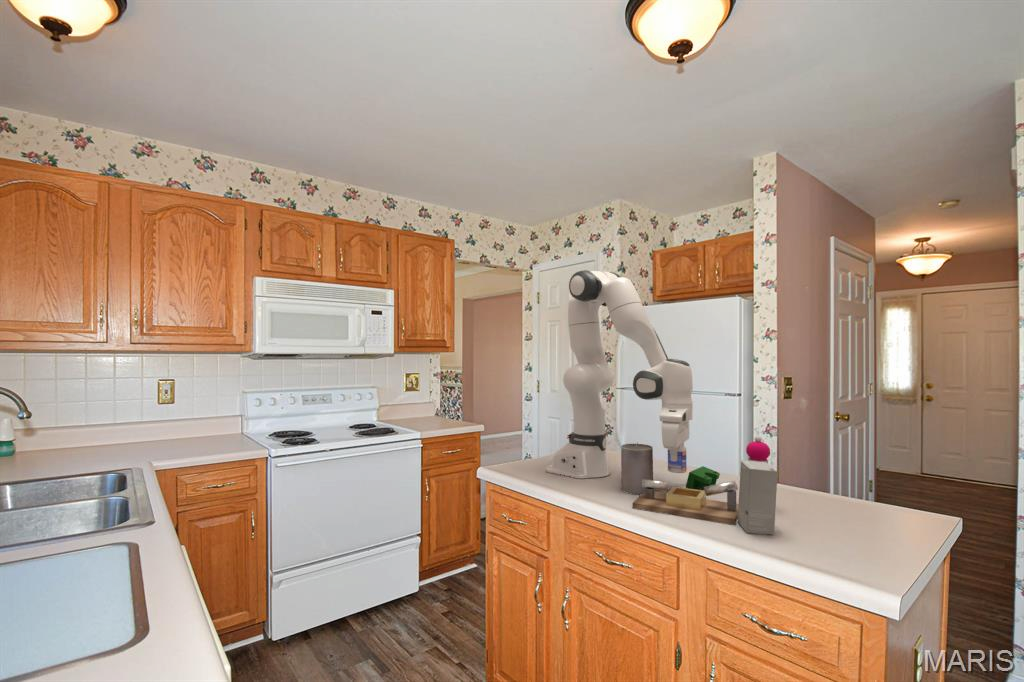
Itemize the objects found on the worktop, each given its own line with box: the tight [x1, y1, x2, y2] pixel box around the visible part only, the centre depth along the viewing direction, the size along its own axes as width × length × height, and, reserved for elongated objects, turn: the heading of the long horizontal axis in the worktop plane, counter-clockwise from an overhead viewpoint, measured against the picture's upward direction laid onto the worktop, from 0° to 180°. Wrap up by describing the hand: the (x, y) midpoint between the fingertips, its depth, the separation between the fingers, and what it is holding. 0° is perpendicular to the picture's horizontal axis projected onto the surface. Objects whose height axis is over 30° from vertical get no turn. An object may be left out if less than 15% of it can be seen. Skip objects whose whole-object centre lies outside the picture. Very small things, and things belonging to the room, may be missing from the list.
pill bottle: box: [667, 439, 688, 474], centre depth 150 cm, size 5×5×10 cm
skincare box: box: [737, 459, 779, 536], centre depth 122 cm, size 8×7×16 cm
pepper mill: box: [745, 435, 771, 464], centre depth 138 cm, size 7×7×20 cm
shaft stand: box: [631, 479, 739, 526], centre depth 137 cm, size 26×14×9 cm, turn 60°
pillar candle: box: [620, 442, 654, 495], centre depth 155 cm, size 10×10×15 cm
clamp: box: [685, 465, 721, 491], centre depth 158 cm, size 12×6×9 cm, turn 132°
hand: (676, 458), depth 150 cm, fingers closed on pill bottle, 5 cm apart
